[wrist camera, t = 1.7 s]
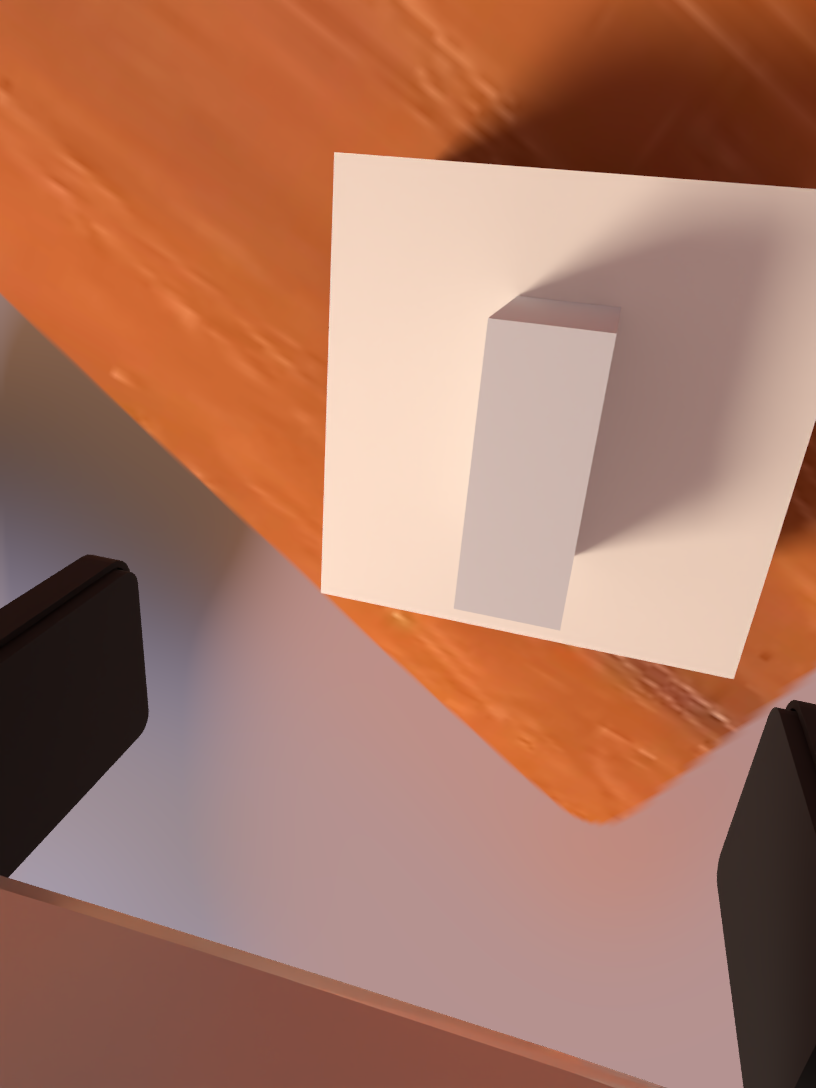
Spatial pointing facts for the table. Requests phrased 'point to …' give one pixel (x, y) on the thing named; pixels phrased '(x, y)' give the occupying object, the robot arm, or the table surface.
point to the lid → (566, 399)
